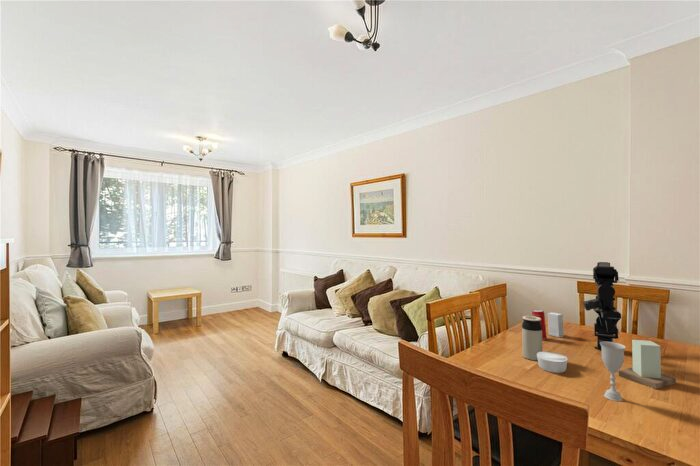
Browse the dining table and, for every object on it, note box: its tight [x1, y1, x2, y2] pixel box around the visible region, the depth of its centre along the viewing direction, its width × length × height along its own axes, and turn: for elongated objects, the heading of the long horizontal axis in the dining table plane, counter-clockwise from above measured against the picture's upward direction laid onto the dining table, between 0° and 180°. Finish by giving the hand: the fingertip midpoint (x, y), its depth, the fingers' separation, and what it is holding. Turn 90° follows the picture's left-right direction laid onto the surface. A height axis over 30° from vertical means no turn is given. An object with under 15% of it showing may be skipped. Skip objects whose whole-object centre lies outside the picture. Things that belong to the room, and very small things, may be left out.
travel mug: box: [521, 315, 544, 361], centre depth 150 cm, size 8×8×18 cm
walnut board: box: [618, 366, 677, 390], centre depth 126 cm, size 12×12×2 cm
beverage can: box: [531, 309, 548, 341], centre depth 176 cm, size 6×6×15 cm
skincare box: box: [547, 312, 565, 338], centre depth 180 cm, size 6×4×12 cm
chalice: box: [600, 341, 626, 402], centre depth 113 cm, size 7×7×18 cm
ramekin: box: [537, 351, 569, 374], centre depth 138 cm, size 11×11×5 cm
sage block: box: [631, 339, 662, 378], centre depth 126 cm, size 6×6×12 cm
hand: (606, 329), depth 147 cm, fingers open, 9 cm apart
